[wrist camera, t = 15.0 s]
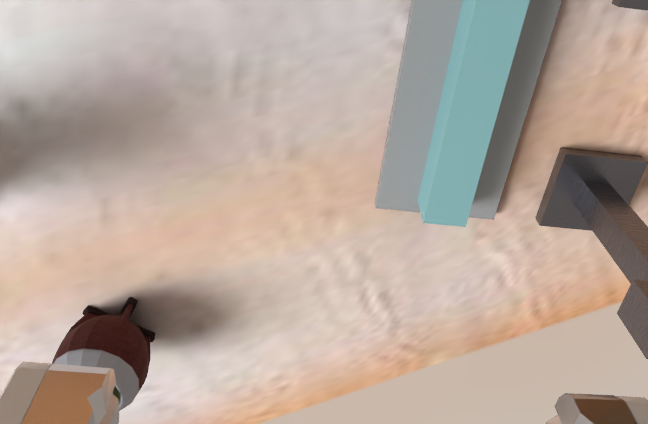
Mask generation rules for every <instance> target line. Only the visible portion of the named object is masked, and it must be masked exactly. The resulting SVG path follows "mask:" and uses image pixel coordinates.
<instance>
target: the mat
mask: <svg viewBox="0 0 648 424" xmlns="http://www.w3.org/2000/svg"><path fill="white" fill-rule="evenodd" d="M462 2H463V0H412V4H411V9H410V15H409V20H408V26H407V31H406V36H405V42H404V47H403V53H402V58H401V64H400V69H399V75H398V80H397V85H396V91H395V96H394V102H393V107H392V113H391V118H390V123H389V129H388V134H387V140H386V145H385V151H384V156H383V161H382V167H381V172H380V178H379V183H378V189H377V194H376V199H375V207H376V208H380V209H390V210H400V211H411V212H420V209H419V205H418V202H417V201H418V196H419V192H420V187H421V183H422V178H423V174H424V170H425V165H426V161H427V156H428V152H429V148H430V143H431V139H432V134H433V130H434V125H435V121H436V117H437V112H438V108H439V103H440V99H441V95H442V90H443V86H444V81H445V77H446V72H447V68H448V64H449V59H450V55H451V50H452V46H453V42H454V37H455V33H456V28H457V24H458V19H459V15H460V11H461V6H462ZM561 2H562V0H530V1H529V5H528V8H527V12H526V15H525V19H524V22H523V26H522V29H521V33H520V36H519V40H518V43H517V47H516V51H515V54H514V58H513V61H512V65H511V68H510V72H509V75H508V79H507V82H506V86H505V89H504V93H503V96H502V100H501V104H500V107H499V111H498V114H497V118H496V121H495V125H494V128H493V132H492V135H491V139H490V142H489V146H488V149H487V153H486V157H485V160H484V164H483V167H482V171H481V174H480V178H479V181H478V185H477V188H476V192H475V195H474V199H473V202H472V206H471V209H470V213H469V217H472V218H482V219H493V220H494V217H495V214H496V211H497V208H498V204H499V201H500V198H501V195H502V191H503V188H504V185H505V182H506V179H507V175H508V172H509V169H510V166H511V163H512V159H513V156H514V153H515V150H516V147H517V143H518V140H519V137H520V134H521V130H522V127H523V124H524V121H525V118H526V114H527V111H528V108H529V105H530V102H531V98H532V95H533V92H534V89H535V85H536V82H537V79H538V76H539V73H540V69H541V66H542V63H543V60H544V57H545V53H546V50H547V47H548V44H549V41H550V37H551V34H552V31H553V28H554V24H555V21H556V18H557V15H558V12H559V8H560V5H561Z"/></svg>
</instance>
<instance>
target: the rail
mask: <svg viewBox="0 0 648 424" xmlns="http://www.w3.org/2000/svg"><path fill="white" fill-rule="evenodd" d="M529 1H530V0H463V2H462V6H461V11H460V15H459V19H458V24H457V28H456V33H455V37H454V42H453V46H452V50H451V55H450V59H449V64H448V68H447V72H446V77H445V81H444V86H443V90H442V95H441V99H440V103H439V108H438V112H437V117H436V121H435V125H434V130H433V134H432V139H431V143H430V148H429V152H428V156H427V161H426V165H425V170H424V174H423V178H422V183H421V187H420V192H419V196H418V201H417V202H418V205H419V209H420V213H421V216H422V220H423V223H430V224H441V225H451V226H462V227H466V224H467V220H468V217H469V213H470V209H471V206H472V202H473V199H474V195H475V192H476V188H477V185H478V181H479V178H480V174H481V171H482V167H483V164H484V160H485V157H486V153H487V149H488V146H489V142H490V139H491V135H492V132H493V128H494V125H495V121H496V118H497V114H498V111H499V107H500V104H501V100H502V96H503V93H504V89H505V86H506V82H507V79H508V75H509V72H510V68H511V65H512V61H513V58H514V54H515V51H516V47H517V43H518V40H519V36H520V33H521V29H522V26H523V22H524V19H525V15H526V12H527V8H528V5H529Z"/></svg>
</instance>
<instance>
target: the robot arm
mask: <svg viewBox="0 0 648 424" xmlns="http://www.w3.org/2000/svg"><path fill="white" fill-rule="evenodd" d="M115 384H116V378H115V372H114V369H111V368H100V367H88V366H76V365H64V364H49V363H34V362H22V363H21V364H20V365H19V366H18V367H17V368H16V369H15V371H14V372H13V374H12V376H11V378H10V380H9V382H8V384H7V385H6V387H5V389H4V391H3V393H2V395H1V396H0V424H118V423H119V401H118V398H117V397H116V396H114V395H113V394H112V393H113V390H114V387H115ZM555 408H556V411H557V413H558V415H557V416H555V417H554V418H552V419H550V420H549V421H547V423H546V424H648V400H647V399H646V398H641V397H624V396H613V395H591V394H568V393H565V394H564V395H562V396H561V397H559V399H558V401H557V403H556V405H555Z"/></svg>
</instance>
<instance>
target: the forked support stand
mask: <svg viewBox="0 0 648 424" xmlns="http://www.w3.org/2000/svg"><path fill="white" fill-rule="evenodd" d="M612 4H614V5H616V6H618V7H624V8H632V9H641V10H648V0H613V1H612ZM647 163H648V162H647V161H646V160H645V159H644V158H643V157H641V156H634V155H625V154H616V153H606V152H597V151H587V150H578V149H568V148H560V151H559V154H558V157H557V159H556V162H555V165H554V168H553V171H552V174H551V176H550V179H549V182H548V185H547V188H546V190H545V193H544V196H543V199H542V202H541V205H540V207H539V210H538V213H537V216H536V220H537V222H538V223H539V225H540V226H551V227H561V228H571V229H582V230H592V231H593V232H594V233H595V235H596V236H597V238H598V239H599V240H600V242H601V243H602V244H603V246H604V247H605V249H606V250H607V251H608V253H609V254H610V255H611V257H612V258H613V260H614V261H615V262H616V264H617V265H618V267H619V268H620V269H621V271H622V272H623V273H624V275H625V276H626V278H627V279H628V280H629V282H630V283H631V285H630V288H629V290H628V292H627V294H626V296H625V298H624V300H623V302H622V304H621V306H620V308H619V310H618V312H617V314H618V316H619V317H620V319H621V320H622V322H623V323H624V325H625V326H626V328H627V330H628V331H629V333H630V334H631V335H632V337H633V339H634V340H635V342H636V343H637V345H638V346H639V348H640V350H641V351H642V353H643V354H644V356H645V357H646V359H648V227H647V226H646V224H645V223H644V222H643V221H642V220H641V219H640V218H639V216H638V215H637V214H636V213H635V212H634V211H633V210H632V209H631V207H630V206H629V203H630V201H631V199H632V197H633V194H634V192H635V190H636V188H637V185H638V183H639V181H640V179H641V176H642V174H643V172H644V170H645V167H646V165H647Z"/></svg>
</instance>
